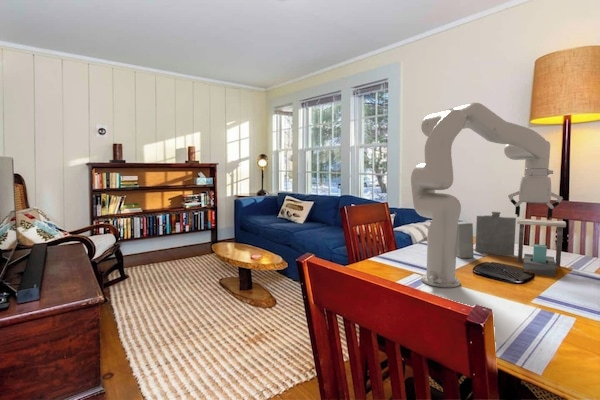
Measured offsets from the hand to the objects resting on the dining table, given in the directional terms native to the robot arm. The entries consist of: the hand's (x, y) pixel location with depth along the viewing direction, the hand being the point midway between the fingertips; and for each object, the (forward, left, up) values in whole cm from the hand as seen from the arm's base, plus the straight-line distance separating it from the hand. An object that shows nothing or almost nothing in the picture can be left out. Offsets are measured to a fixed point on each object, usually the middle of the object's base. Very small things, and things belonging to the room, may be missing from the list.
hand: (533, 217), depth 131 cm
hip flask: (+23, +14, -21) cm, 34 cm away
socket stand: (+5, -3, -21) cm, 22 cm away
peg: (+2, -3, -21) cm, 21 cm away
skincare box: (+10, +26, -21) cm, 35 cm away
